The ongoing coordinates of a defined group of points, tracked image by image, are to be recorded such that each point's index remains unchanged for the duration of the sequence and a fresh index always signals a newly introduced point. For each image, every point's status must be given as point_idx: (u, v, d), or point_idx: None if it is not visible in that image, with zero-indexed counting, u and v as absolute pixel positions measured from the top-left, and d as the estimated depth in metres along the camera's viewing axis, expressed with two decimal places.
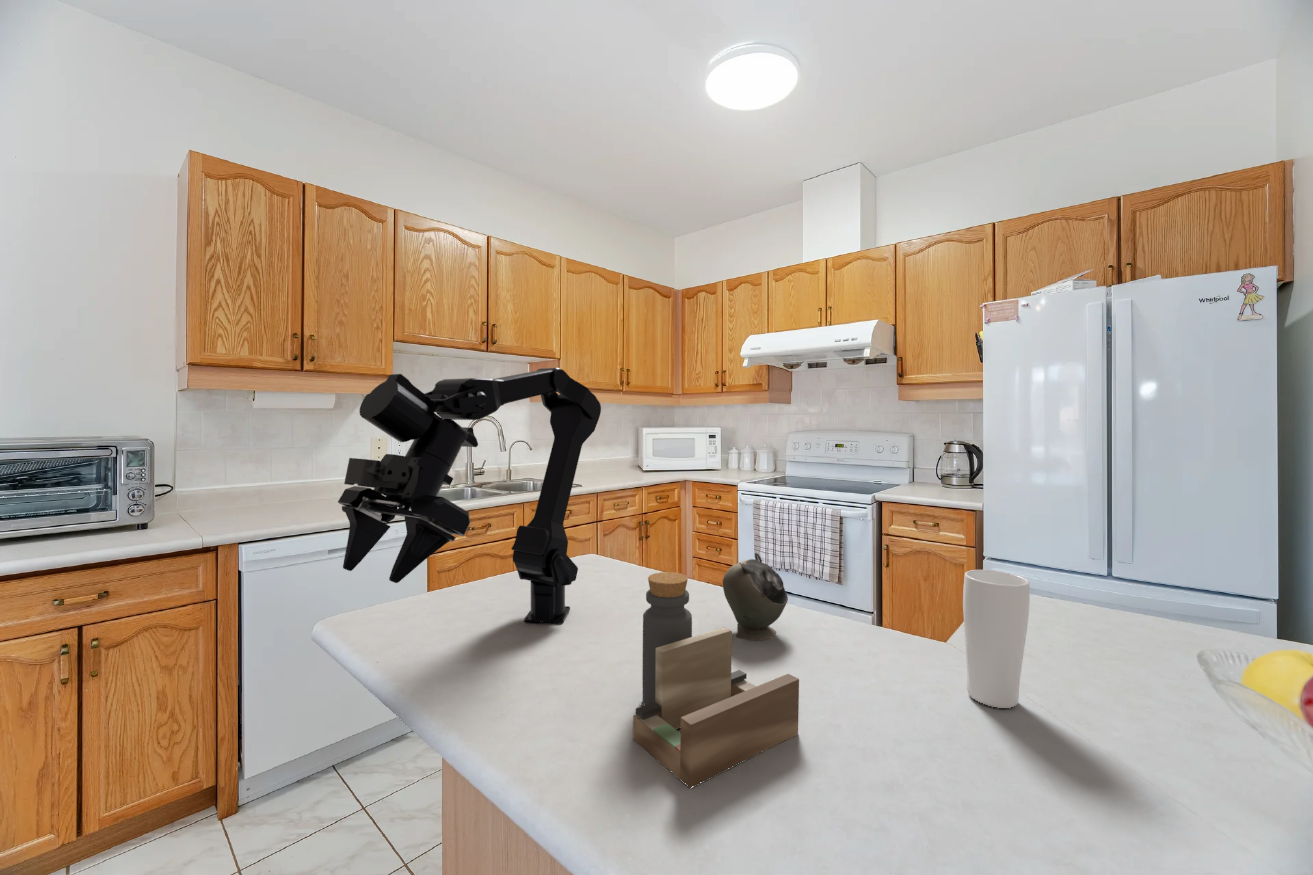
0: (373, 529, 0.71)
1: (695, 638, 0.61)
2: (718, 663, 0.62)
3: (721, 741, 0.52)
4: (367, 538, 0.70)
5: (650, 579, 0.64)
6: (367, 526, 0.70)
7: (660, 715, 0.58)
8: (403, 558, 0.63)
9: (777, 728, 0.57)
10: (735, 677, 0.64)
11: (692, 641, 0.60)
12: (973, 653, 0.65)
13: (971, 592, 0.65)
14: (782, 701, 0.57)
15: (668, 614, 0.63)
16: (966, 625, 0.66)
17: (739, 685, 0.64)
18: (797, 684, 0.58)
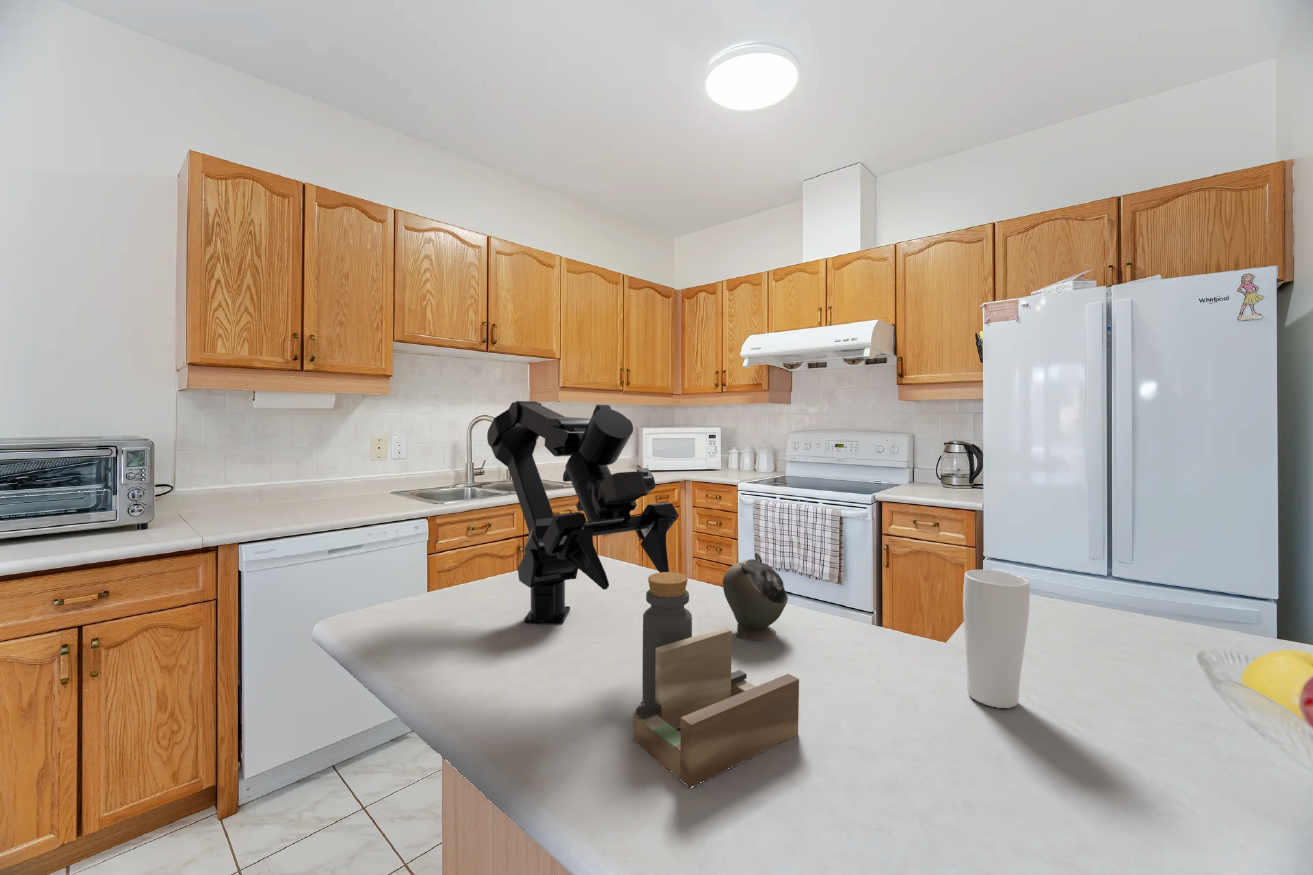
0: None
1: (695, 638, 0.61)
2: (718, 663, 0.62)
3: (721, 741, 0.52)
4: None
5: (650, 579, 0.64)
6: None
7: (660, 715, 0.58)
8: (666, 554, 0.74)
9: (777, 728, 0.57)
10: (735, 677, 0.64)
11: (692, 641, 0.60)
12: (973, 653, 0.65)
13: (971, 592, 0.65)
14: (782, 701, 0.57)
15: (668, 614, 0.63)
16: (966, 625, 0.66)
17: (739, 685, 0.64)
18: (797, 684, 0.58)
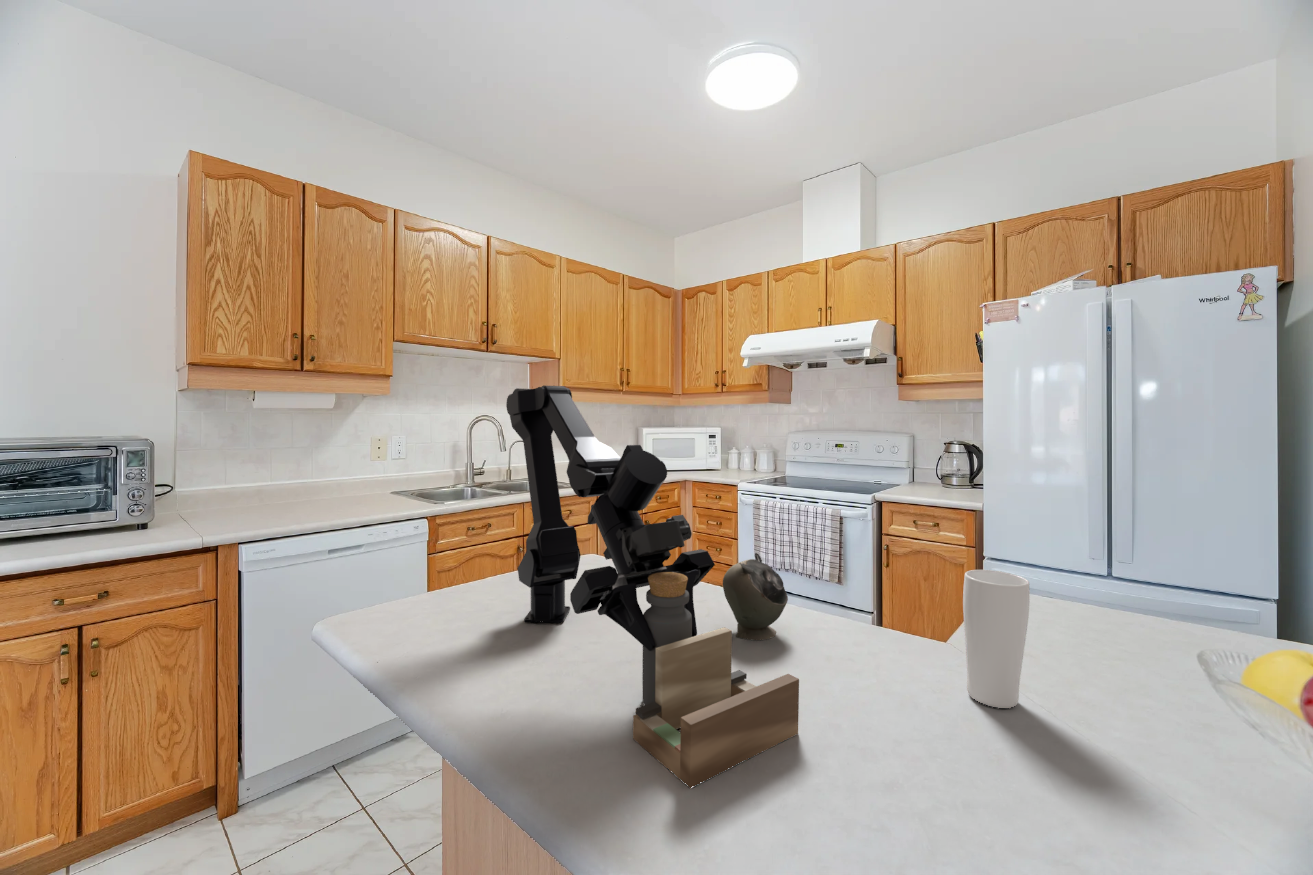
0: None
1: (695, 638, 0.61)
2: (718, 663, 0.62)
3: (721, 741, 0.52)
4: None
5: (650, 579, 0.64)
6: None
7: (660, 715, 0.58)
8: None
9: (777, 728, 0.57)
10: (735, 677, 0.64)
11: (692, 641, 0.60)
12: (973, 653, 0.65)
13: (971, 592, 0.65)
14: (782, 701, 0.57)
15: (668, 614, 0.63)
16: (966, 625, 0.66)
17: (739, 685, 0.64)
18: (797, 684, 0.58)
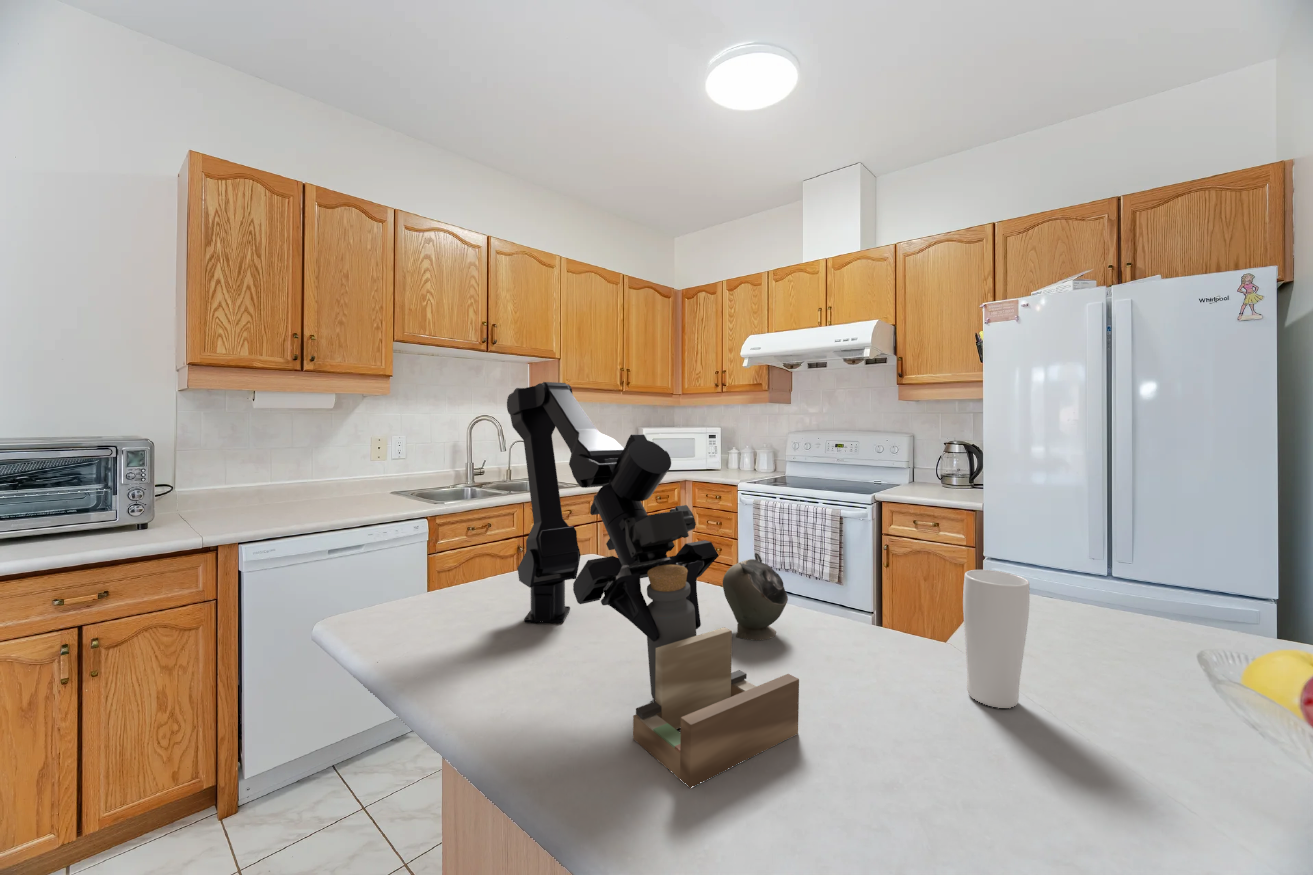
0: None
1: (695, 638, 0.61)
2: (718, 663, 0.62)
3: (721, 741, 0.52)
4: None
5: (649, 574, 0.63)
6: None
7: (660, 715, 0.58)
8: (697, 602, 0.67)
9: (777, 728, 0.57)
10: (735, 677, 0.64)
11: (692, 641, 0.60)
12: (973, 653, 0.65)
13: (971, 592, 0.65)
14: (782, 701, 0.57)
15: (670, 608, 0.62)
16: (966, 625, 0.66)
17: (739, 685, 0.64)
18: (797, 684, 0.58)
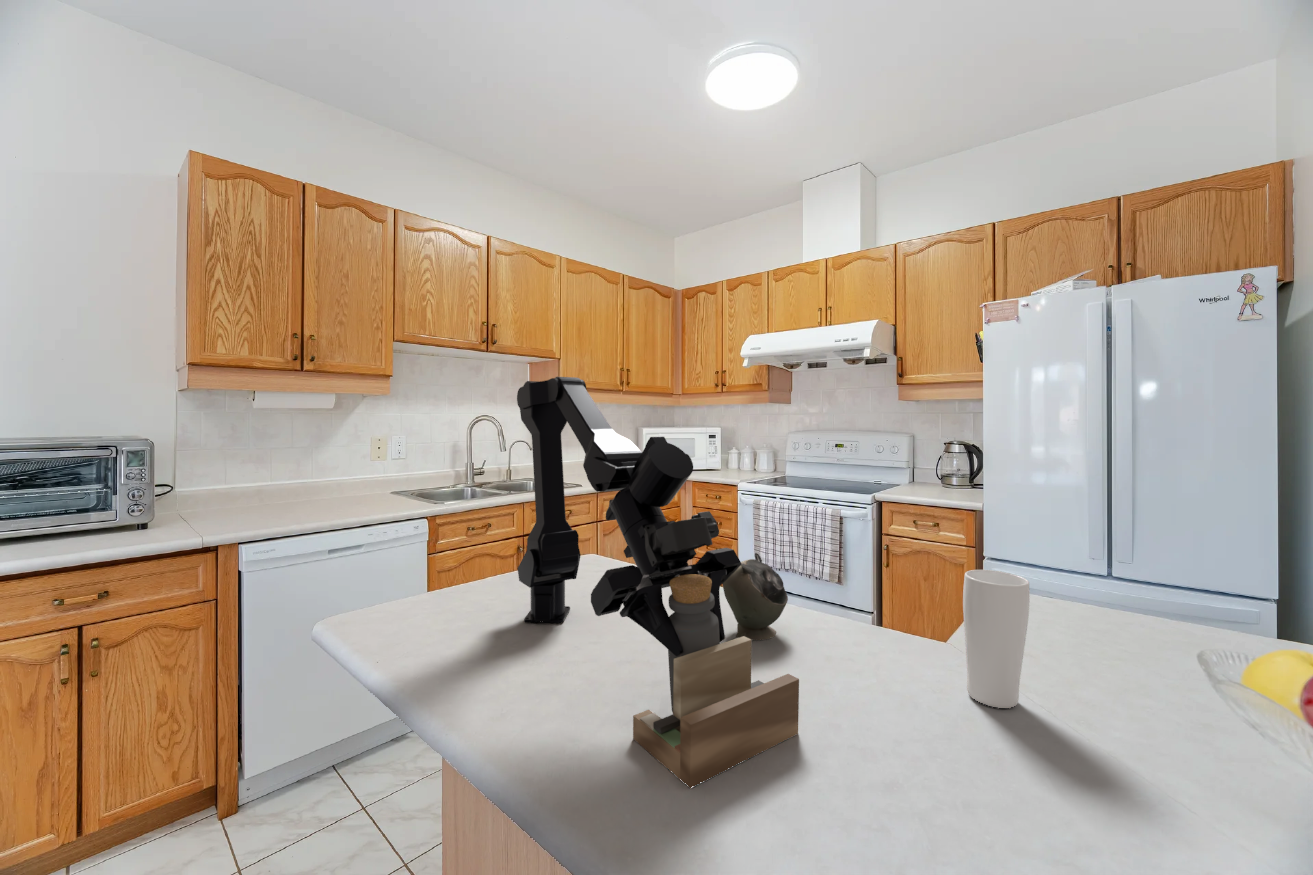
0: None
1: (714, 648, 0.59)
2: (738, 674, 0.60)
3: (721, 741, 0.52)
4: None
5: (672, 584, 0.60)
6: None
7: (678, 729, 0.55)
8: (720, 614, 0.63)
9: (777, 728, 0.57)
10: None
11: (711, 651, 0.58)
12: (973, 653, 0.65)
13: (971, 592, 0.65)
14: (782, 701, 0.57)
15: (694, 621, 0.59)
16: (966, 625, 0.66)
17: None
18: (797, 684, 0.58)
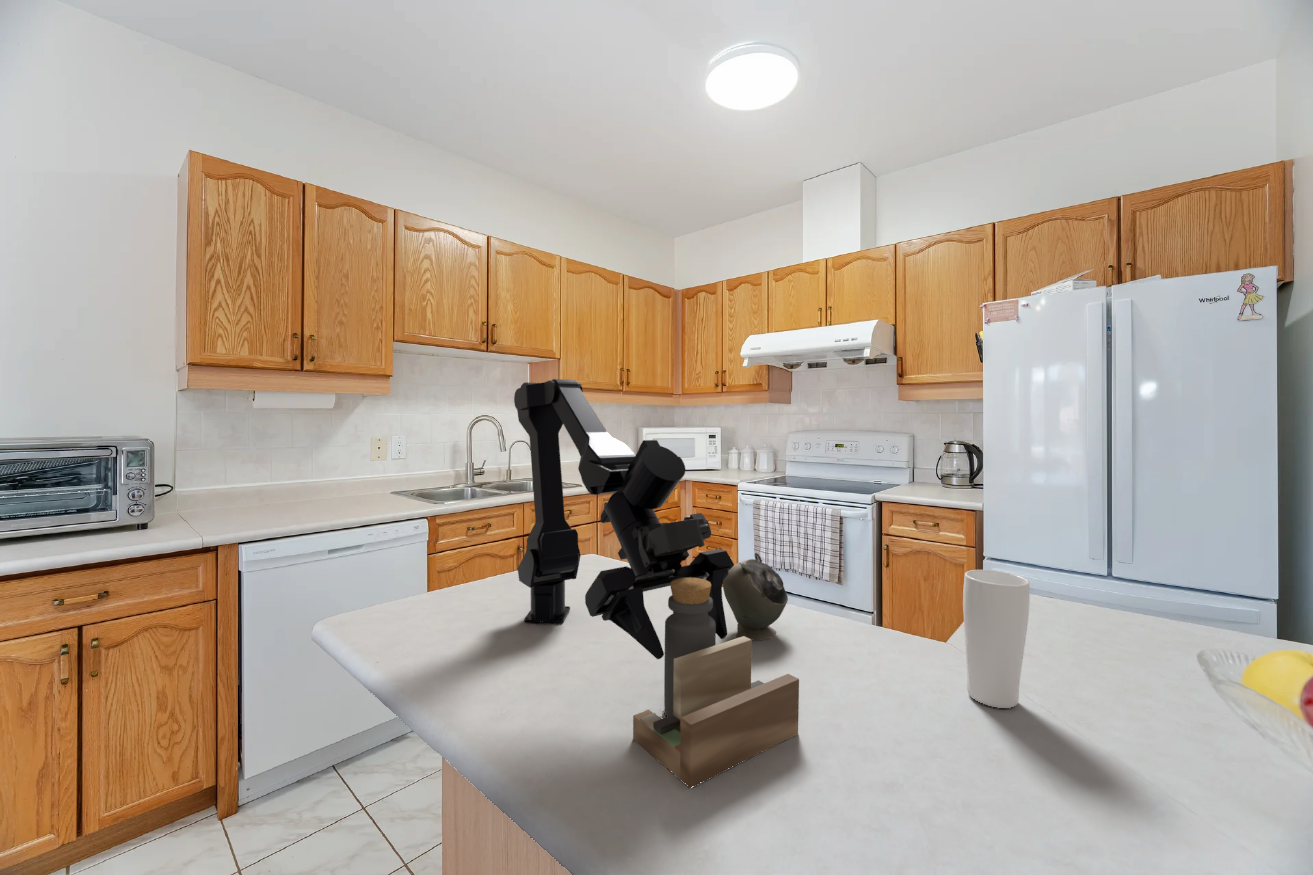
0: None
1: (714, 648, 0.59)
2: (738, 674, 0.60)
3: (721, 741, 0.52)
4: None
5: (672, 585, 0.62)
6: None
7: (678, 729, 0.55)
8: (723, 611, 0.65)
9: (777, 728, 0.57)
10: None
11: (711, 651, 0.58)
12: (973, 653, 0.65)
13: (971, 592, 0.65)
14: (782, 701, 0.57)
15: (692, 622, 0.61)
16: (966, 625, 0.66)
17: None
18: (797, 684, 0.58)
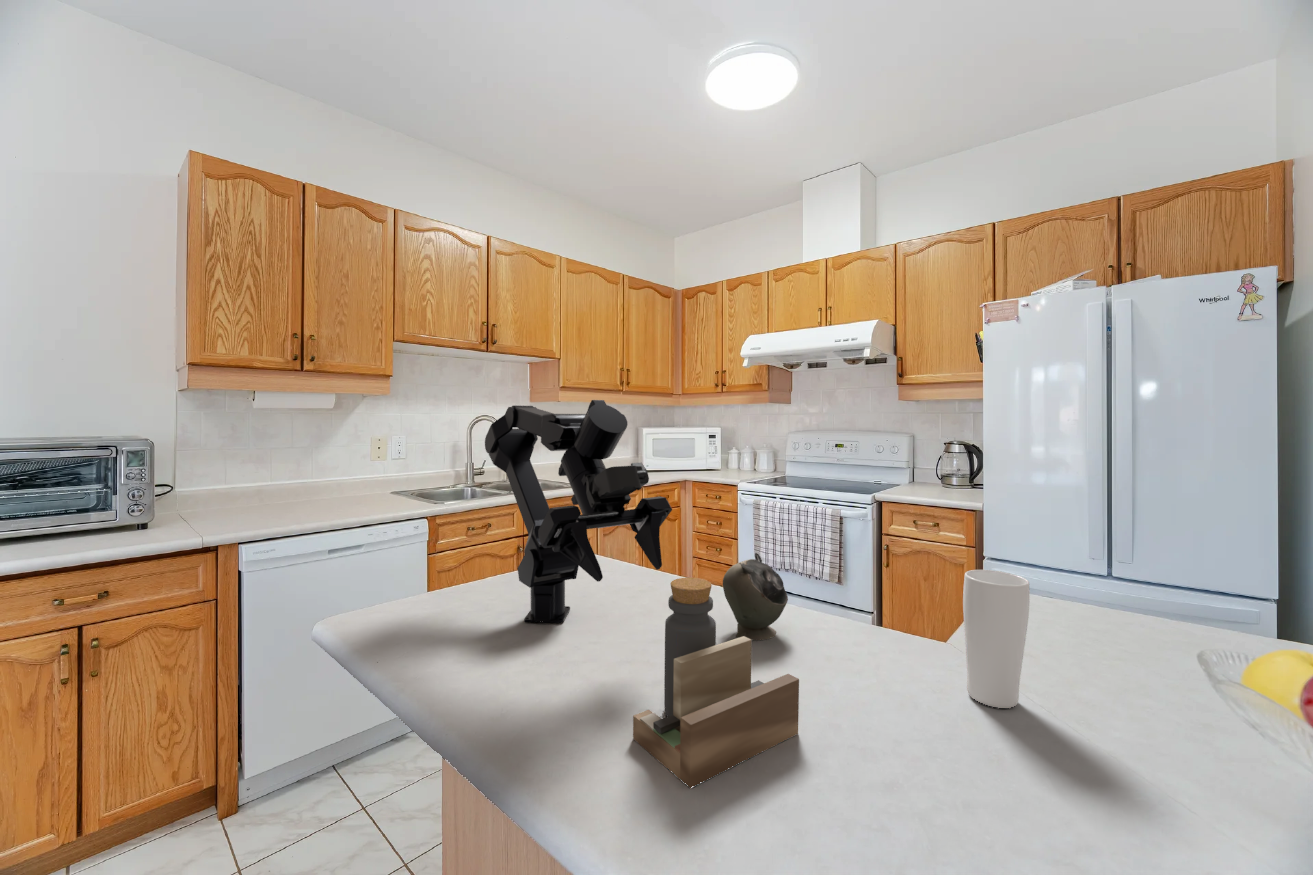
0: None
1: (714, 648, 0.59)
2: (738, 674, 0.60)
3: (721, 741, 0.52)
4: None
5: (673, 585, 0.62)
6: None
7: (678, 729, 0.55)
8: (659, 547, 0.75)
9: (777, 728, 0.57)
10: None
11: (711, 651, 0.58)
12: (973, 653, 0.65)
13: (971, 592, 0.65)
14: (782, 701, 0.57)
15: (692, 622, 0.61)
16: (966, 625, 0.66)
17: None
18: (797, 684, 0.58)
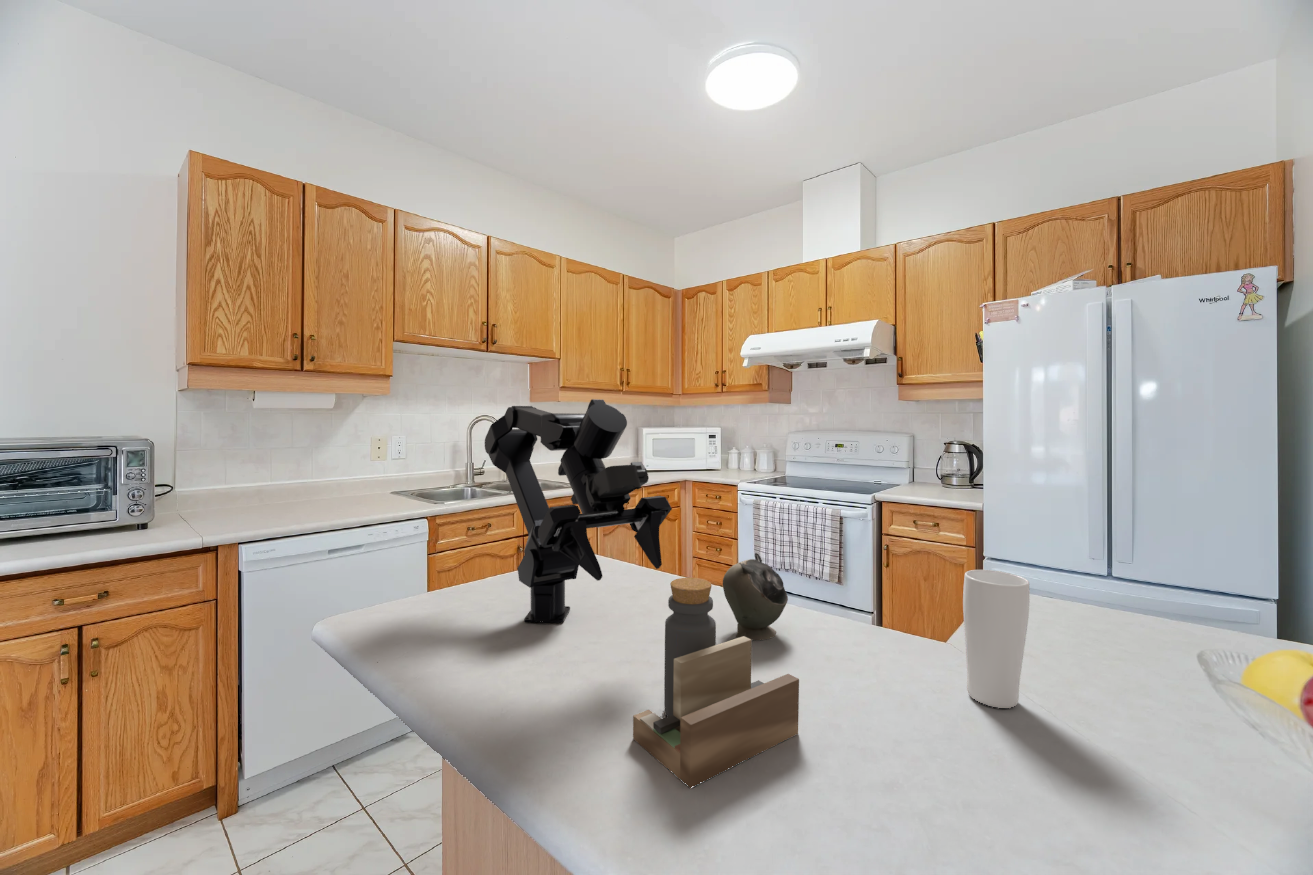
0: None
1: (714, 648, 0.59)
2: (738, 674, 0.60)
3: (721, 741, 0.52)
4: None
5: (672, 585, 0.62)
6: None
7: (678, 729, 0.55)
8: (659, 546, 0.76)
9: (777, 728, 0.57)
10: None
11: (711, 651, 0.58)
12: (973, 653, 0.65)
13: (971, 592, 0.65)
14: (782, 701, 0.57)
15: (692, 622, 0.61)
16: (966, 625, 0.66)
17: None
18: (797, 684, 0.58)
